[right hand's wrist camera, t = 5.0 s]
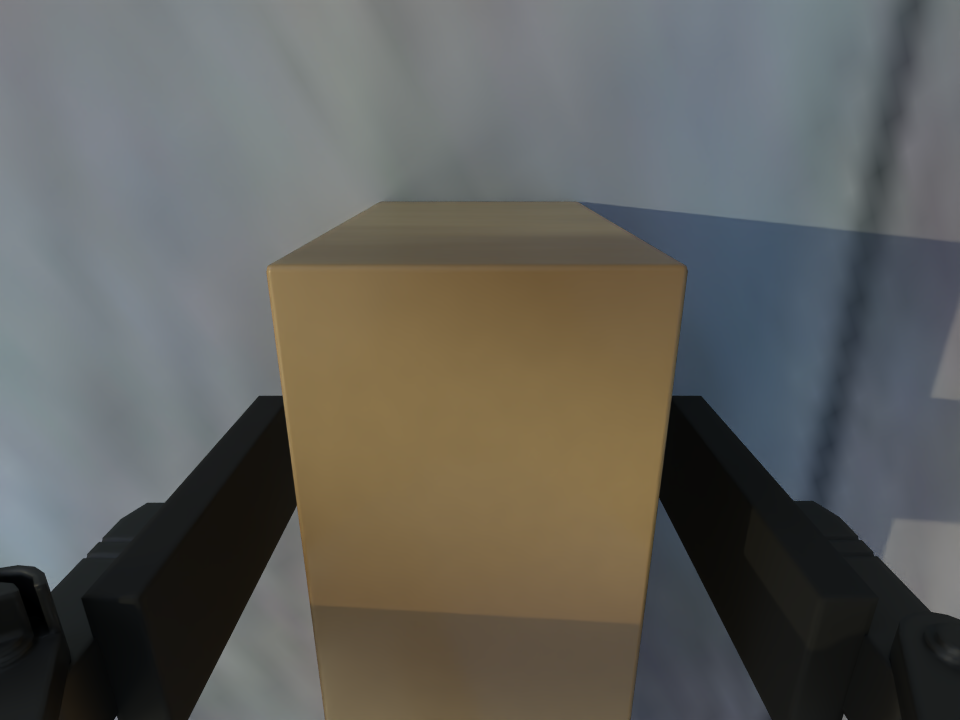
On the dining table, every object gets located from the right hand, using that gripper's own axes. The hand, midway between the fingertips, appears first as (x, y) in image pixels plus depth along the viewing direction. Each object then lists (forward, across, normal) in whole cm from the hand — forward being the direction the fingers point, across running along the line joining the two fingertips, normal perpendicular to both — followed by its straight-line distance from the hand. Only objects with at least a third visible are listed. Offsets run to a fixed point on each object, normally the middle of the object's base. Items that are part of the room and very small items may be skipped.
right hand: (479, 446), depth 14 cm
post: (+1, 0, -24) cm, 24 cm away
